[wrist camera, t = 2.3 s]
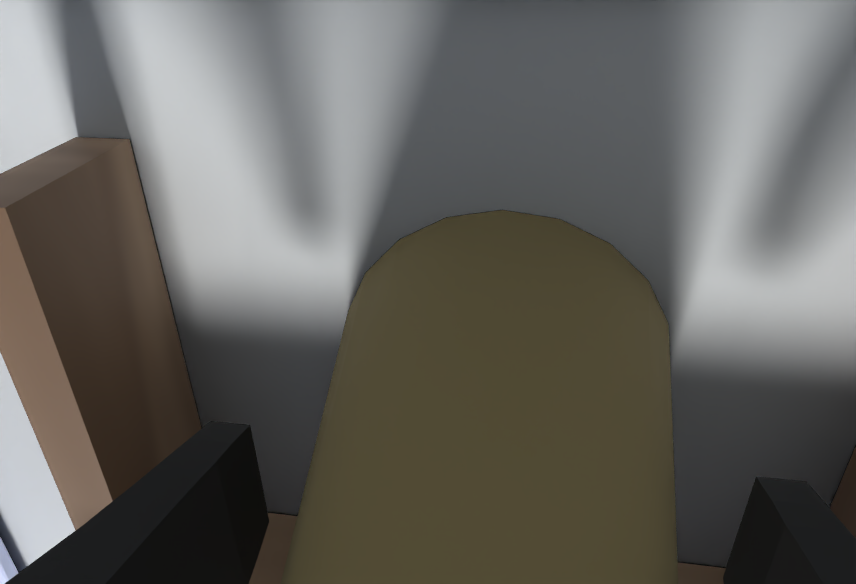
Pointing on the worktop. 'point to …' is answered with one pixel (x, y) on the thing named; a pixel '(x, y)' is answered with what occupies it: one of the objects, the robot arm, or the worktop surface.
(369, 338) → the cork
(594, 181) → the worktop surface
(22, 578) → the robot arm
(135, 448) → the walnut bay
